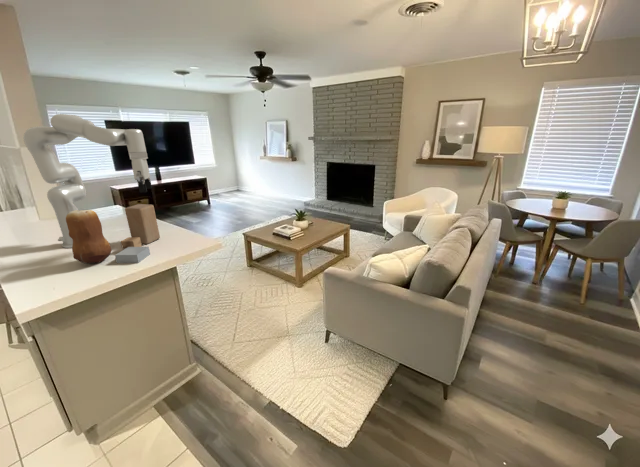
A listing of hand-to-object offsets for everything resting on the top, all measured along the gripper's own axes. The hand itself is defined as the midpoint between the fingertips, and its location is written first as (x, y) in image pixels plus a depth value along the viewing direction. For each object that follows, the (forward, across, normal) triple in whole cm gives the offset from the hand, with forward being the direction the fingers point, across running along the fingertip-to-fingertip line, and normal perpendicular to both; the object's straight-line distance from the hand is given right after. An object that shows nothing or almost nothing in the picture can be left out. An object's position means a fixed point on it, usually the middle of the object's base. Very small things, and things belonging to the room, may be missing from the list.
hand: (146, 190), depth 146 cm
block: (+29, -7, -7) cm, 31 cm away
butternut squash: (+29, +18, -23) cm, 41 cm away
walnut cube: (+29, +6, -10) cm, 32 cm away
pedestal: (+29, +18, -6) cm, 35 cm away
